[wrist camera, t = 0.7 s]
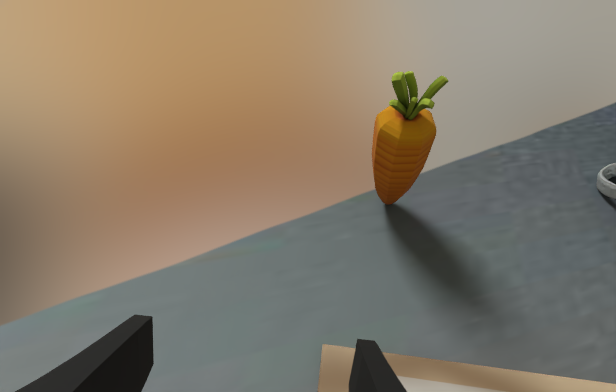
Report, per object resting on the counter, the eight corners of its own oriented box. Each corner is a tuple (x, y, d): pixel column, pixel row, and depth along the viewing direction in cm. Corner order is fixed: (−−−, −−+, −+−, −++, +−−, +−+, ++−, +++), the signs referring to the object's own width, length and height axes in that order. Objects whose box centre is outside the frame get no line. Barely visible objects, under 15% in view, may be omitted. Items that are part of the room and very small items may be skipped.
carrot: (416, 192, 37) (460, 60, 25) (404, 229, 34) (447, 98, 22) (371, 179, 38) (392, 48, 26) (356, 213, 35) (372, 82, 24)
